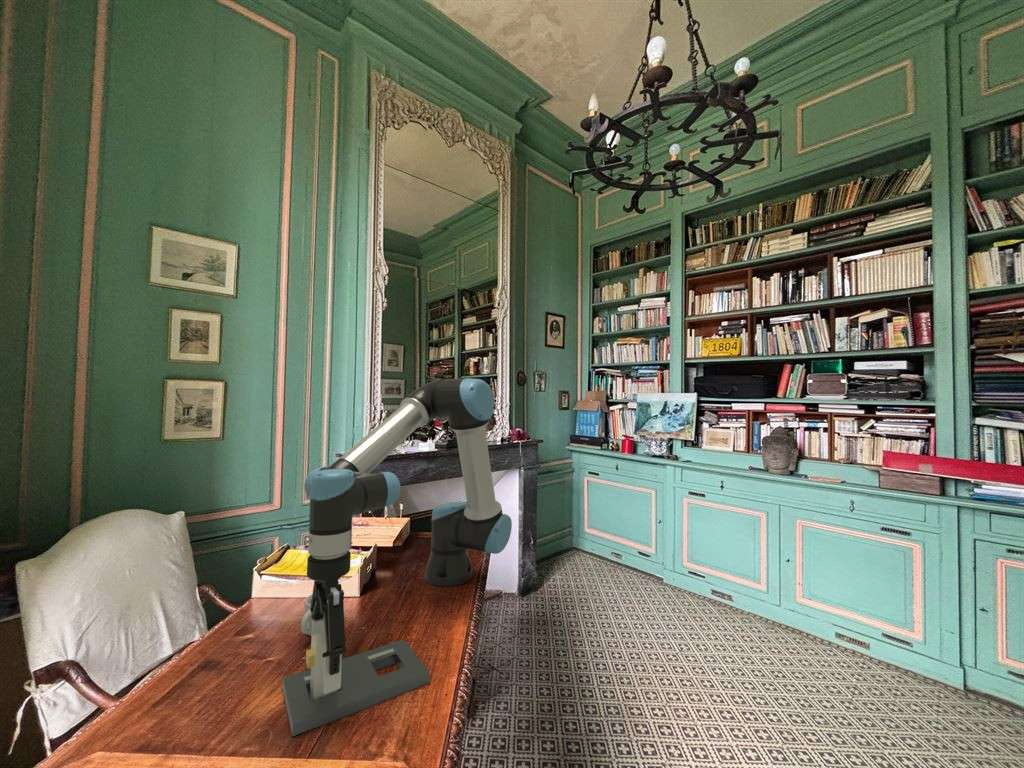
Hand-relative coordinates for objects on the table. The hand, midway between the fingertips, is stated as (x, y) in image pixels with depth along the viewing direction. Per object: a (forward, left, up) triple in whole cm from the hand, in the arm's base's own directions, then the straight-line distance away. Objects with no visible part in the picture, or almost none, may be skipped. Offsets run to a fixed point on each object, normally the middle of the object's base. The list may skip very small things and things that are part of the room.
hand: (324, 670), depth 76 cm
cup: (-3, -24, -5) cm, 24 cm away
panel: (-6, 0, -5) cm, 8 cm away
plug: (0, 0, -5) cm, 5 cm away
